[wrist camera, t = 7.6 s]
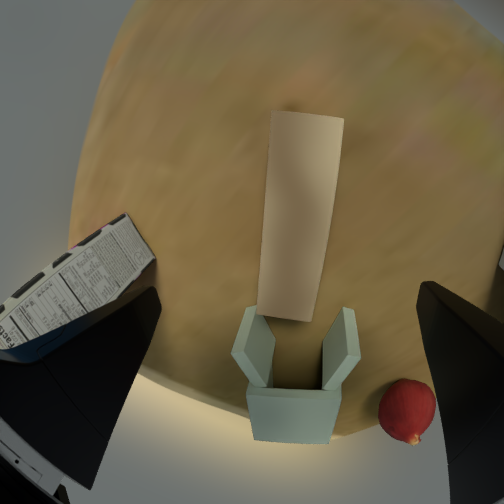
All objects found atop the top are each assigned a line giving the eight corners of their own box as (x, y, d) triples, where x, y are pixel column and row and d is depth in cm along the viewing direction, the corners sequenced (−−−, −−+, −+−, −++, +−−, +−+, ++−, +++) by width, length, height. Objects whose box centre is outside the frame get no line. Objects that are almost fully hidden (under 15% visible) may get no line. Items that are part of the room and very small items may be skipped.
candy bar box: (94, 298, 27) (-2, 406, 12) (67, 260, 25) (-41, 357, 11) (161, 259, 23) (29, 417, 8) (128, 208, 21) (-39, 334, 7)
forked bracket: (354, 306, 21) (363, 363, 16) (337, 395, 26) (337, 443, 21) (245, 304, 23) (226, 358, 18) (256, 391, 28) (245, 438, 23)
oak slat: (335, 119, 16) (344, 118, 12) (311, 284, 21) (310, 322, 17) (279, 113, 16) (271, 110, 12) (266, 278, 22) (255, 314, 18)
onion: (400, 401, 26) (408, 460, 19) (363, 389, 25) (368, 455, 18) (436, 370, 23) (454, 433, 16) (402, 355, 23) (417, 426, 16)
